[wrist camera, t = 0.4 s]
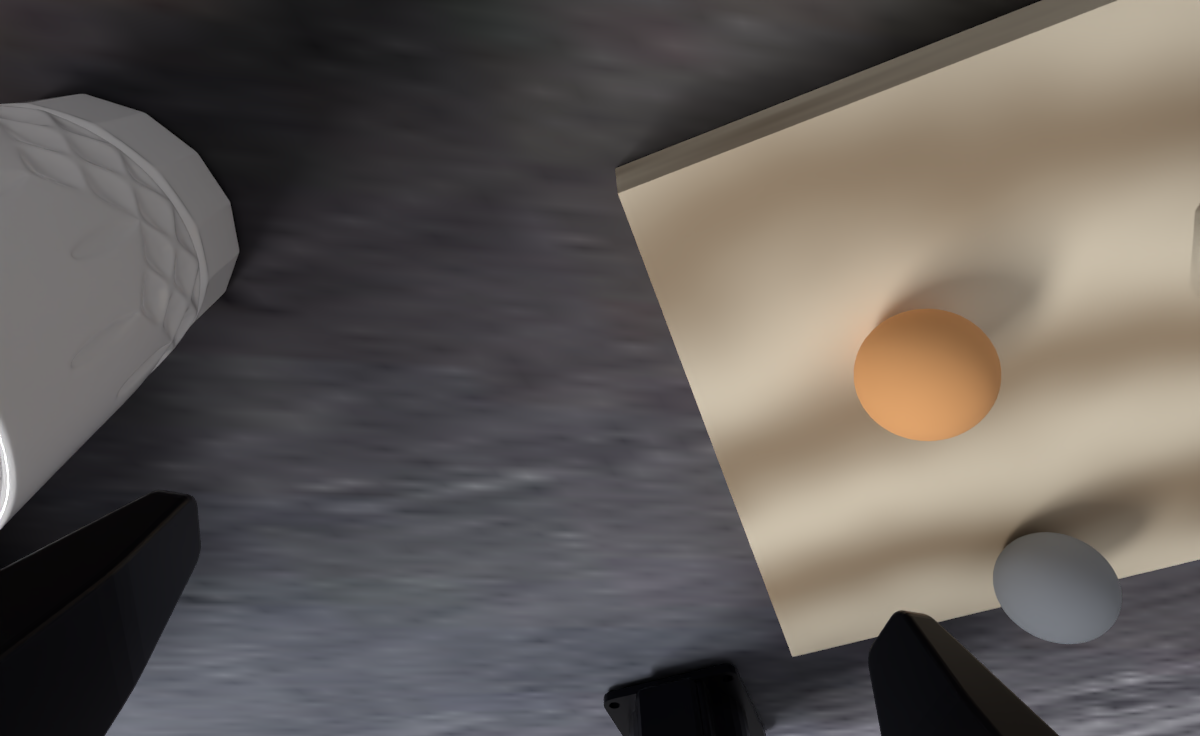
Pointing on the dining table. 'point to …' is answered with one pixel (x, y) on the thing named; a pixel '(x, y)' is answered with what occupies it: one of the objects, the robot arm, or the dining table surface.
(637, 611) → the dining table surface
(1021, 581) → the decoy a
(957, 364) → the ball
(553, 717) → the dining table surface
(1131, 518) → the board
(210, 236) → the white cup
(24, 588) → the robot arm
